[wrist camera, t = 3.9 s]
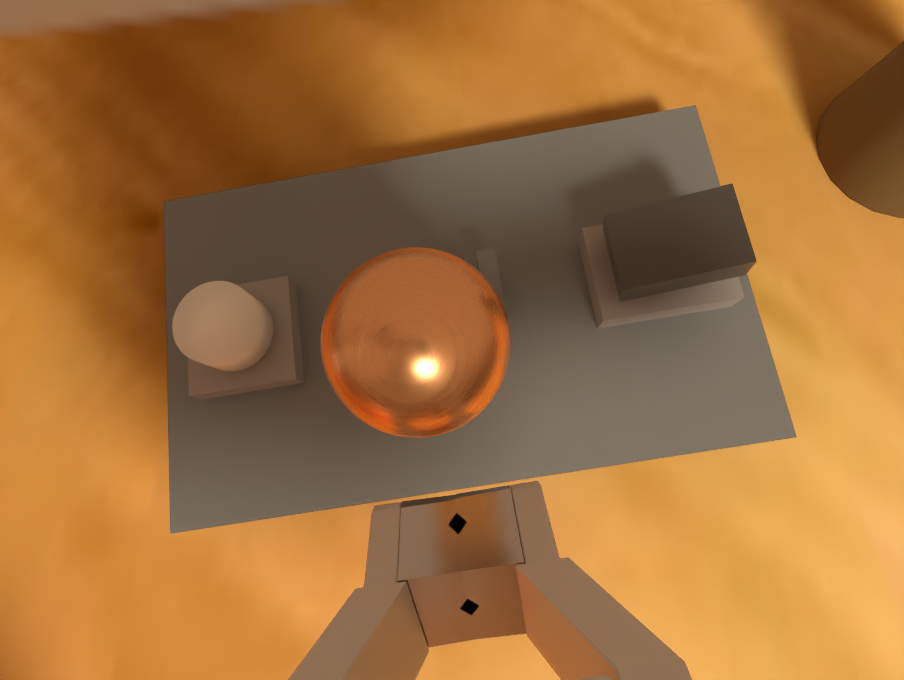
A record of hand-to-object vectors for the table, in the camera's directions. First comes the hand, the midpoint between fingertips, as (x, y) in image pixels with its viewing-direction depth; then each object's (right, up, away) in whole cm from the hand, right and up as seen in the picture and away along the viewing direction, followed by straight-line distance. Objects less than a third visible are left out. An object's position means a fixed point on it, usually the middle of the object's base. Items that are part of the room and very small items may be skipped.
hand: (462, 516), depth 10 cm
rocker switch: (+6, +6, +6) cm, 11 cm away
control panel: (0, +4, +11) cm, 11 cm away
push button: (-7, +3, +8) cm, 11 cm away
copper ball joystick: (0, +5, +7) cm, 9 cm away
